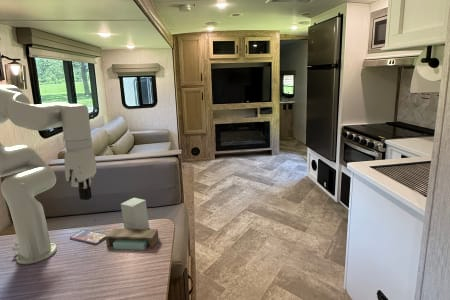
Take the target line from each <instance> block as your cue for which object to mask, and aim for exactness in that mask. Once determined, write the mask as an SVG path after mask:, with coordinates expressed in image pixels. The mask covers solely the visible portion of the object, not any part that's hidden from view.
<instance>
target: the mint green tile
mask: <svg viewBox="0 0 450 300" xmlns="http://www.w3.org/2000/svg"><path fill="white" fill-rule="evenodd" d="M112 245H113V249H114V250H138V251H140V250H141V251H145V250H146V248H147V247H148V245H149V239H116V240H115V241H114V242H113V244H112Z"/></svg>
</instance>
